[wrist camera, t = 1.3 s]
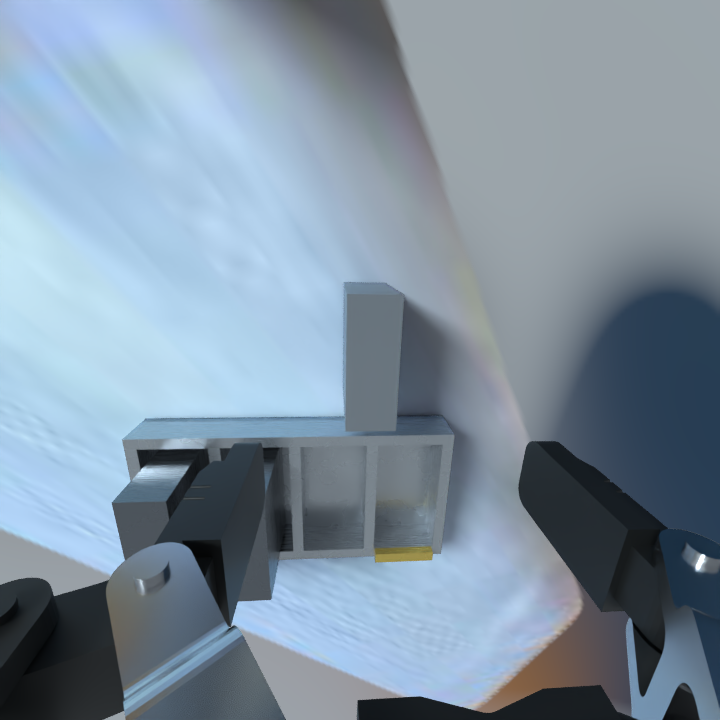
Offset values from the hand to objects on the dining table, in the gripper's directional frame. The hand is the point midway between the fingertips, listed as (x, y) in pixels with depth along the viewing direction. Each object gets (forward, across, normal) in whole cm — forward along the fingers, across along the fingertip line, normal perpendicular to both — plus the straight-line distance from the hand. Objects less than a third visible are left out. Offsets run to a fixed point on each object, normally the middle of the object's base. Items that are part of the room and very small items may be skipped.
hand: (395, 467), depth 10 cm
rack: (+16, +5, +12) cm, 21 cm away
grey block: (+16, 0, 0) cm, 16 cm away
